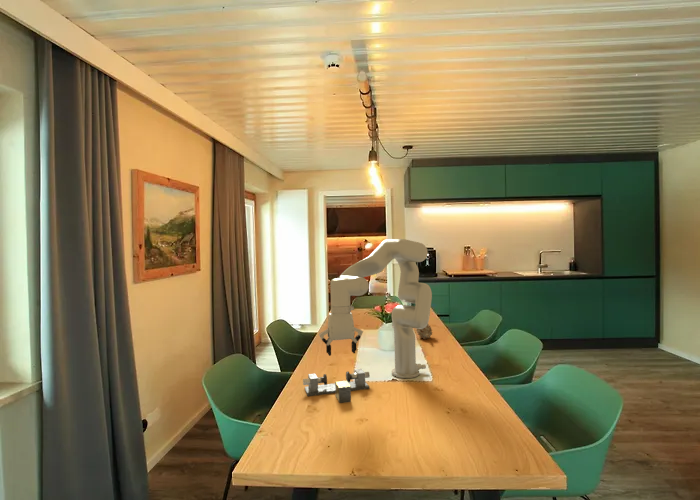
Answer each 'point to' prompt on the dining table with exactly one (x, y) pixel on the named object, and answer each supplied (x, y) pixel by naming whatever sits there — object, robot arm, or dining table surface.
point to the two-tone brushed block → (343, 391)
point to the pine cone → (425, 332)
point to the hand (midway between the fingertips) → (341, 353)
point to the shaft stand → (330, 388)
